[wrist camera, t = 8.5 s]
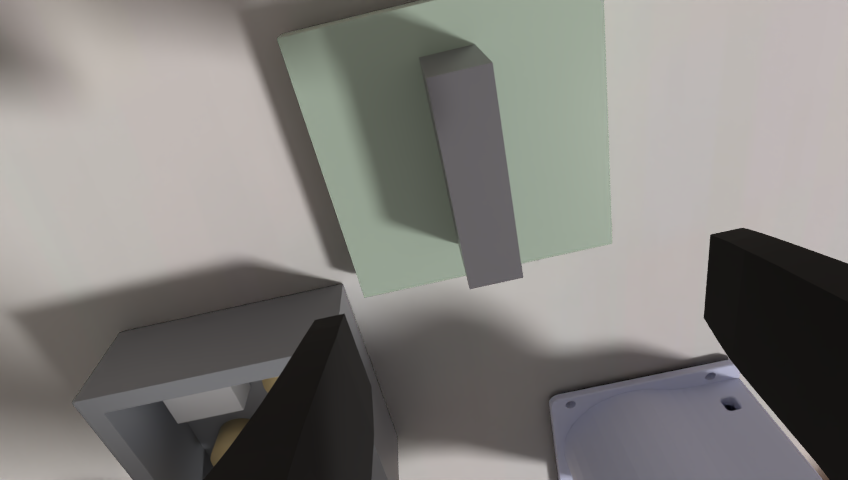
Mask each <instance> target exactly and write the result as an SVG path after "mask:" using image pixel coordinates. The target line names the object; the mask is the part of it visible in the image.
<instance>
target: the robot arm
mask: <svg viewBox="0 0 848 480" xmlns="http://www.w3.org/2000/svg"><path fill="white" fill-rule="evenodd" d="M704 319H705V320H706V322H707V324H708V325H709V327H710V329H711V330H712V332H713V333H714V335H715V337H716V338H717V340H718V342H719V343H720V345H721V346H722V348H723V349H724V351H725V352H726V354H727V355H728V357H729V358H730V360H724V361H719V362H714V363H709V364H704V365H700V366H695V367H690V368H685V369H680V370H675V371H670V372H665V373H660V374H656V375H651V376H646V377H641V378H636V379H631V380H626V381H621V382H616V383H612V384H607V385H602V386H597V387H592V388H587V389H582V390H577V391H572V392H568V393H563V394H558V395H555V396H553V397H552V398H551V399H550V400H549V408H550V416H551V424H552V431H553V439H554V447H555V455H556V463H557V471H558V479H559V480H822V478H821V477H820V476H819V474H818V473H817V472H816V471H815V469H814V468H813V467H812V466H811V465H810V463H809V462H808V461H807V460H806V459H805V457H804V456H803V455H802V454H801V452H800V451H799V450H798V449H797V448H796V446H795V445H794V444H793V443H792V442H791V440H790V439H789V438H788V437H787V436H786V434H785V433H784V432H783V431H782V430H781V428H780V427H779V426H778V425H777V423H776V422H775V421H774V420H773V419H772V417H771V416H770V415H769V414H768V413H767V411H766V410H765V409H764V408H763V407H762V405H761V404H760V403H759V402H758V401H757V399H756V398H755V397H754V396H753V394H752V393H751V392H750V391H749V390H748V388H747V387H746V386H745V385H744V384H743V382H742V381H741V380H740V379H739V376H740V373H741V374H742V375H743V376H744V377H745V379H746V380H747V381H748V382H749V383H750V385H751V386H752V387H753V388H754V389H755V391H756V392H757V393H758V394H759V395H760V397H761V398H762V399H763V400H764V401H765V402H766V404H767V405H768V406H769V407H770V408H771V410H772V411H773V412H774V413H775V414H776V415H777V417H778V418H779V419H780V420H781V421H782V423H783V424H784V425H785V426H786V427H787V428H788V430H789V431H790V432H791V433H792V434H793V436H794V437H795V438H796V439H797V440H798V441H799V443H800V444H801V445H802V446H803V447H804V449H805V450H806V451H807V452H808V453H809V454H810V456H811V457H812V458H813V459H814V460H815V461H816V463H817V464H818V465H819V467H820V468H821V469H822V470H823V472H824V473H825V474H826V475H827V477H828V478H829V479H830V480H848V263H845V262H842V261H839V260H836V259H834V258H831V257H828V256H825V255H822V254H820V253H817V252H814V251H811V250H808V249H806V248H803V247H800V246H797V245H794V244H792V243H789V242H786V241H783V240H780V239H777V238H774V237H772V236H768V235H765V234H762V233H759V232H756V231H753V230H749V229H745V228H739V229H735V230H730V231H725V232H721V233H716V234H711V235H710V247H709V260H708V272H707V285H706V297H705V310H704ZM569 401H571V402H569ZM373 448H374V419H373V401H372V387H371V384H370V381H369V378H368V376H367V373H366V370H365V368H364V365H363V362H362V359H361V357H360V354H359V351H358V349H357V346H356V343H355V340H354V338H353V335H352V332H351V330H350V327H349V324H348V321H347V319H346V316H345V313H344V314H340V315H335V316H330V317H326V318H321V319H317V320H314V322H313V323H312V325H311V326H310V328H309V330H308V331H307V333H306V334H305V336H304V337H303V339H302V340H301V342H300V344H299V345H298V347H297V348H296V350H295V352H294V353H293V355H292V357H291V358H290V360H289V361H288V363H287V364H286V366H285V368H284V369H283V371H282V372H281V374H280V375H279V377H278V378H277V380H276V381H275V383H274V385H273V386H272V388H271V389H270V391H269V392H268V394H267V395H266V397H265V398H264V400H263V401H262V403H261V404H260V406H259V407H258V409H257V410H256V411H255V413H254V414H253V416H252V417H251V418H250V420H249V421H248V422H247V424H246V425H245V427H244V428H243V429H242V431H241V432H240V433H239V435H238V436H237V438H236V439H235V440H234V442H233V443H232V444H231V446H230V447H229V448H228V450H227V451H226V452H225V453H224V455H223V456H222V457H221V458H220V460H219V461H218V462H217V463H216V465H215V466H214V467H213V468H212V470H211V471H210V472H209V473H208V474H207V475H206V477H205V478H204V479H203V480H371V479H372V464H373Z"/></svg>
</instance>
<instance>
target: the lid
mask: <svg viewBox="0 0 848 480" xmlns="http://www.w3.org/2000/svg"><path fill="white" fill-rule="evenodd" d="M277 41H278V44H279V47H280V50H281V53H282V55H283V58H284V61H285V64H286V67H287V70H288V73H289V76H290V79H291V82H292V85H293V88H294V91H295V94H296V97H297V100H298V103H299V106H300V109H301V112H302V115H303V118H304V121H305V123H306V126H307V129H308V132H309V135H310V138H311V141H312V144H313V147H314V150H315V153H316V156H317V159H318V162H319V165H320V168H321V171H322V174H323V177H324V180H325V183H326V186H327V188H328V191H329V194H330V197H331V200H332V203H333V206H334V209H335V212H336V215H337V218H338V221H339V224H340V227H341V230H342V233H343V236H344V239H345V242H346V245H347V248H348V251H349V254H350V256H351V259H352V262H353V265H354V268H355V271H356V274H357V277H358V280H359V283H360V286H361V289H362V292H363V295H364V298H366V297H371V296H375V295H380V294H384V293H389V292H394V291H398V290H403V289H407V288H412V287H416V286H421V285H425V284H430V283H435V282H439V281H444V280H448V279H453V278H457V277H462V276H466V277H467V280H468V284H469V288H470V289H473V288H477V287H482V286H486V285H491V284H496V283H500V282H505V281H509V280H514V279H519V278H523V273H522V266H521V263H526V262H531V261H535V260H540V259H544V258H549V257H553V256H558V255H563V254H567V253H572V252H576V251H581V250H585V249H590V248H595V247H599V246H604V245H608V244H612V222H611V193H610V164H609V135H608V107H607V78H606V49H605V20H604V0H419V1H415V2H411V3H407V4H403V5H399V6H395V7H391V8H386V9H382V10H378V11H374V12H370V13H366V14H362V15H358V16H354V17H349V18H345V19H341V20H337V21H333V22H329V23H325V24H321V25H317V26H312V27H308V28H304V29H300V30H296V31H292V32H288V33H284V34H282V35H280V36H279V37H278V38H277Z"/></svg>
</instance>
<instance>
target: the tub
mask: <svg viewBox="0 0 848 480" xmlns="http://www.w3.org/2000/svg"><path fill="white" fill-rule="evenodd" d="M344 313H345V316H346V319H347V321H348V324H349V327H350V330H351V332H352V335H353V338H354V340H355V343H356V346H357V349H358V351H359V354H360V357H361V359H362V362H363V365H364V368H365V370H366V373H367V376H368V378H369V381H370V384H371V387H372V401H373V419H374V448H373V464H372V479H371V480H399V471H398V438H397V434H396V432H395V429H394V426H393V423H392V420H391V418H390V415H389V412H388V409H387V406H386V404H385V401H384V398H383V395H382V392H381V389H380V387H379V384H378V381H377V378H376V375H375V373H374V370H373V367H372V364H371V361H370V359H369V356H368V353H367V350H366V347H365V345H364V342H363V339H362V336H361V333H360V331H359V328H358V325H357V322H356V319H355V317H354V314H353V311H352V308H351V305H350V303H349V300H348V297H347V294H346V291H345V289H344V286H343V284H339V285H335V286H330V287H326V288H321V289H316V290H312V291H307V292H303V293H298V294H293V295H289V296H284V297H280V298H275V299H270V300H266V301H261V302H257V303H252V304H248V305H243V306H238V307H234V308H229V309H225V310H220V311H215V312H211V313H206V314H202V315H197V316H192V317H188V318H183V319H179V320H174V321H169V322H165V323H160V324H156V325H151V326H146V327H142V328H137V329H133V330H128V331H124V332H120V333H119V334H118V336H117V337H116V339H115V340H114V342H113V343H112V345H111V346H110V347H109V349H108V350H107V352H106V353H105V355H104V356H103V358H102V359H101V361H100V362H99V364H98V365H97V367H96V368H95V369H94V371H93V372H92V374H91V375H90V377H89V378H88V380H87V381H86V383H85V384H84V386H83V387H82V389H81V390H80V391H79V393H78V394H77V396H76V397H75V399H74V400H73V402H72V404H73V405H74V406H75V408H76V409H77V410H78V411H79V413H80V414H81V415H82V416H83V418H84V419H85V420H86V421H87V423H88V424H89V425H90V426H91V428H92V429H93V430H94V432H95V433H96V434H97V435H98V437H99V438H100V439H101V440H102V442H103V443H104V444H105V445H106V447H107V448H108V449H109V450H110V452H111V453H112V454H113V455H114V457H115V458H116V459H117V460H118V462H119V463H120V464H121V465H122V467H123V468H124V469H125V470H126V472H127V473H128V474H129V475H130V477H131V478H132V479H133V480H203V479H204V478H205V477H206V475H207V474H208V473H209V472H210V471H211V470H212V468H213V467H214V466H215V465H216V463H217V462H218V461H219V460H220V458H221V457H222V456H223V455H224V453H225V452H226V451H227V450H228V448H229V447H230V446H231V444H232V443H233V442H234V440H235V439H236V438H237V436H238V435H239V433H240V432H241V431H242V429H243V428H244V427H245V425H246V424H247V422H248V421H249V420H250V418H251V417H252V416H253V414H254V413H255V411H256V410H257V409H258V407H259V406H260V404H261V403H262V401H263V400H264V398H265V397H266V395H267V394H268V392H269V391H270V389H271V388H272V386H273V385H274V383H275V381H276V380H277V378H278V377H279V375H280V374H281V372H282V371H283V369H284V368H285V366H286V364H287V363H288V361H289V360H290V358H291V357H292V355H293V353H294V352H295V350H296V348H297V347H298V345H299V344H300V342H301V340H302V339H303V337H304V336H305V334H306V333H307V331H308V330H309V328H310V326H311V325H312V323H313V322H314V320H317V319H321V318H326V317H330V316H335V315H340V314H344Z"/></svg>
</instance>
